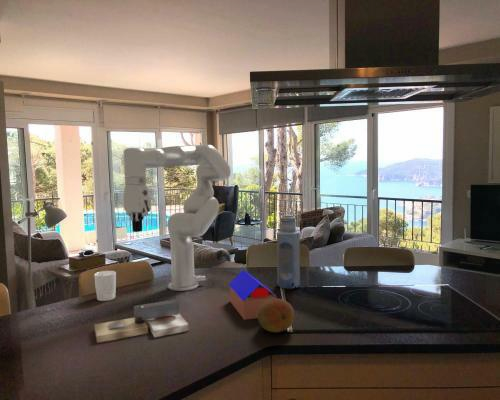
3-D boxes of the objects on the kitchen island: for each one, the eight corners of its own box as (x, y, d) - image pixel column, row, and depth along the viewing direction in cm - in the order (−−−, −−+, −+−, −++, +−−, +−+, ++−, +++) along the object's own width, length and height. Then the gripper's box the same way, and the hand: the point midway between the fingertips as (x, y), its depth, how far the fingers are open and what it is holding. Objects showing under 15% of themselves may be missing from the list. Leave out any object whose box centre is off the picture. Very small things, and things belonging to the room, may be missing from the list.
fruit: (266, 341, 111) (265, 307, 111) (249, 326, 123) (248, 295, 122) (301, 334, 116) (301, 301, 115) (281, 319, 128) (281, 289, 127)
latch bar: (135, 323, 120) (134, 308, 120) (134, 320, 123) (133, 305, 123) (178, 316, 126) (178, 302, 125) (176, 313, 129) (176, 299, 128)
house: (259, 298, 150) (258, 268, 150) (277, 316, 131) (277, 282, 131) (228, 301, 147) (228, 271, 146) (243, 320, 128) (242, 285, 127)
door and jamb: (173, 312, 136) (173, 305, 136) (188, 330, 120) (188, 322, 120) (93, 326, 125) (93, 318, 125) (98, 348, 109) (97, 339, 109)
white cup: (91, 300, 152) (89, 274, 151) (107, 294, 159) (105, 269, 158) (105, 302, 148) (104, 276, 147) (121, 296, 155) (120, 271, 154)
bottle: (274, 287, 163) (273, 216, 161) (281, 281, 172) (280, 213, 170) (296, 289, 159) (295, 216, 157) (302, 283, 169) (301, 213, 166)
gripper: (157, 181, 143) (159, 231, 144) (130, 181, 151) (132, 228, 152) (141, 182, 137) (143, 234, 138) (114, 182, 145) (116, 231, 146)
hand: (137, 231), depth 145 cm, fingers closed
